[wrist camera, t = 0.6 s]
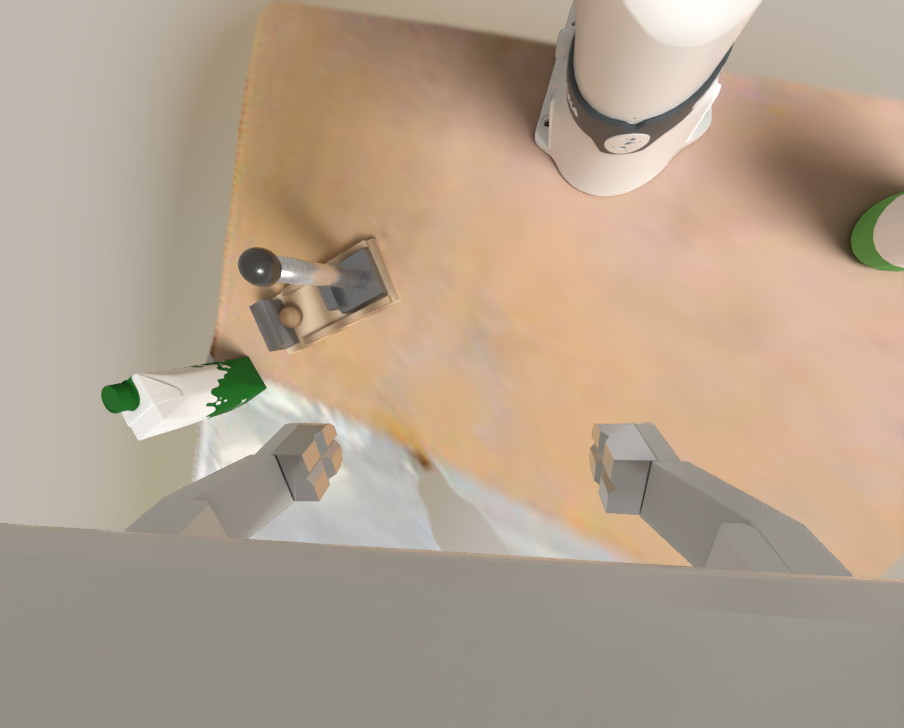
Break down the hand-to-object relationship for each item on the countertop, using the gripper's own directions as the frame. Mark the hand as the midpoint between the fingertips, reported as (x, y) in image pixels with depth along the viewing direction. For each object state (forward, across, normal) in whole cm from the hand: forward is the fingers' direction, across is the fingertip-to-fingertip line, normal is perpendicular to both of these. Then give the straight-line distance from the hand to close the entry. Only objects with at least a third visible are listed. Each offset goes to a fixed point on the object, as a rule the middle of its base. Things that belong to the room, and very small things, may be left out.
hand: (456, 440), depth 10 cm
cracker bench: (+42, +27, +5) cm, 50 cm away
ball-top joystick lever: (+40, +21, +2) cm, 45 cm away
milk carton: (+42, +48, +19) cm, 67 cm away
